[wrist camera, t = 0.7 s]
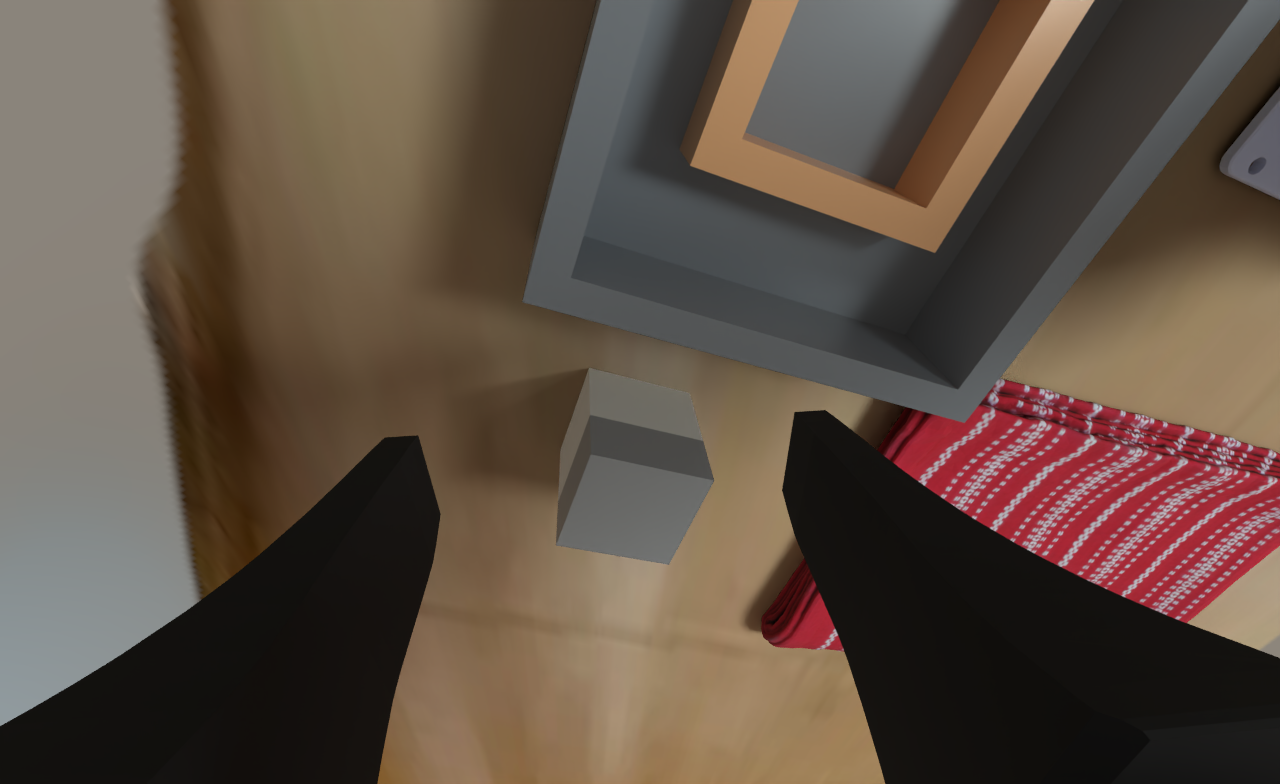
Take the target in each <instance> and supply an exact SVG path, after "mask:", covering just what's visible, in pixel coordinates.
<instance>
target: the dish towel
mask: <svg viewBox="0 0 1280 784" xmlns="http://www.w3.org/2000/svg"><path fill="white" fill-rule="evenodd" d="M877 451H879V452H880V453H881V454H882V455H884V456H885V457H886V458H888V459H889V460H890V461H891V462H893V463H894V464H895V465H897V466H898V467H899V468H901V469H902V470H903V471H905V472H906V473H907V474H909V475H910V476H912V477H913V478H914V479H916V480H917V481H919V482H920V483H921V484H923V485H924V486H925V487H927V488H928V489H930V490H931V491H933V492H934V493H936V494H937V495H939V496H940V497H942V498H943V499H945V500H946V501H947V502H949V503H950V504H952V505H953V506H955V507H956V508H958V509H959V510H961V511H962V512H964V513H966V514H967V515H969V516H970V517H972V518H974V519H975V520H977V521H978V522H980V523H982V524H983V525H985V526H987V527H989V528H990V529H992V530H994V531H995V532H997V533H999V534H1001V535H1002V536H1004V537H1006V538H1007V539H1009V540H1011V541H1013V542H1014V543H1016V544H1018V545H1020V546H1021V547H1023V548H1025V549H1027V550H1029V551H1031V552H1033V553H1034V554H1036V555H1038V556H1040V557H1042V558H1044V559H1046V560H1048V561H1050V562H1052V563H1054V564H1056V565H1058V566H1060V567H1062V568H1064V569H1066V570H1068V571H1070V572H1072V573H1074V574H1076V575H1078V576H1080V577H1082V578H1084V579H1086V580H1088V581H1090V582H1092V583H1095V584H1097V585H1099V586H1101V587H1103V588H1105V589H1108V590H1110V591H1112V592H1114V593H1116V594H1118V595H1121V596H1123V597H1125V598H1128V599H1130V600H1132V601H1135V602H1137V603H1139V604H1142V605H1144V606H1146V607H1149V608H1151V609H1153V610H1156V611H1158V612H1160V613H1163V614H1165V615H1167V616H1170V617H1172V618H1175V619H1177V620H1180V621H1182V622H1185V623H1187V622H1188V621H1189V620H1191V619H1192V618H1193V617H1195V616H1196V615H1197V614H1198V613H1199V612H1200V611H1202V610H1203V609H1204V608H1205V607H1207V606H1208V605H1209V604H1210V603H1211V602H1212V601H1213V600H1214V599H1216V598H1217V597H1218V596H1219V595H1220V594H1221V593H1223V592H1224V591H1225V590H1226V589H1227V588H1228V587H1229V586H1231V585H1232V584H1233V583H1234V582H1235V581H1237V580H1238V579H1239V578H1240V577H1242V576H1243V575H1244V574H1245V573H1247V572H1248V571H1249V570H1250V569H1252V568H1253V567H1254V566H1255V565H1256V564H1258V563H1259V562H1260V561H1261V560H1262V559H1264V558H1265V557H1266V556H1267V555H1268V554H1270V553H1271V552H1272V551H1274V550H1275V549H1276V548H1278V547H1279V546H1280V454H1279V453H1277V452H1275V451H1273V450H1271V449H1267V448H1259V447H1256V446H1253V445H1250V444H1247V443H1243V442H1240V441H1238V440H1235V439H1234V438H1232V437H1226V436H1220V435H1216V434H1213V433H1210V432H1204V431H1201V430H1198V429H1194V428H1191V427H1188V426H1185V425H1182V426H1180V425H1174V424H1170V423H1167V422H1165V421H1160V420H1155V419H1153V418H1151V417H1147V416H1144V415H1142V414H1134V413H1129V412H1125V411H1122V410H1118V409H1114V408H1110V407H1106V406H1102V405H1100V404H1097V403H1094V402H1085V401H1082V400H1078V399H1075V398H1072V397H1070V396H1066V395H1061V394H1059V393H1056V392H1053V391H1051V390H1047V389H1041V388H1035V387H1030V386H1028V385H1025V384H1019V383H1015V382H1012V381H1008V380H1004V379H1001V378H999V380H998V381H997V382H996V383H995V385H994V386H993V387H992V389H991V390H990V391H989V392H988V394H987V395H986V396H985V398H984V399H983V400H982V401H981V403H980V404H979V405H978V407H977V408H976V409H975V410H974V412H973V413H972V414H971V416H970V417H969V418H968V419H967V421H966V422H965V423H963V422H959V421H956V420H952V419H948V418H945V417H941V416H937V415H934V414H930V413H927V412H923V411H919V410H916V409H912V408H908V407H906V408H905V410H904V411H903V412H902V414H901V416H900V417H899V419H898V420H897V422H896V423H895V424H894V426H893V427H892V429H891V430H890V432H889V433H888V435H887V436H886V438H885V439H884V441H883V442H882V444H881V445H880V447H879V448H878V450H877ZM761 629H762V634H763V637H764V638H765V639H766V640H768V641H769V643H770V644H772V645H773V646H775V647H783V648H808V649H816V650H819V649H830V650H837V651H844V649H843V647H842V644H841V641H840V639H839V636H838V634H837V632H836V630H835V627H834V625H833V623H832V620H831V618H830V616H829V613H828V611H827V609H826V607H825V604H824V602H823V600H822V597H821V595H820V593H819V591H818V588H817V586H816V584H815V581H814V579H813V577H812V574H811V572H810V570H809V568H808V565H807V563H806V561H805V558H804V559H803V561H802V562H801V564H800V565H799V567H798V568H797V569H796V571H795V572H794V573H793V574H792V577H791V578H790V580H789V581H788V583H787V584H786V585H785V587H784V588H783V590H782V591H781V593H780V594H779V595H778V597H777V598H776V600H775V601H774V603H773V604H772V605H771V606H770V608H769V609H768V610H767V612H766V613H765V614H764V615H763V617H762V624H761Z"/></svg>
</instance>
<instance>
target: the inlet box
mask: <svg viewBox="0 0 1280 784" xmlns="http://www.w3.org/2000/svg"><path fill="white" fill-rule="evenodd" d="M1279 20H1280V0H597V1H596V5H595V9H594V12H593V16H592V20H591V24H590V28H589V32H588V36H587V40H586V43H585V47H584V51H583V55H582V59H581V63H580V67H579V71H578V75H577V78H576V82H575V86H574V90H573V94H572V98H571V102H570V106H569V109H568V113H567V117H566V121H565V125H564V129H563V133H562V137H561V140H560V144H559V148H558V152H557V156H556V160H555V164H554V168H553V172H552V175H551V179H550V183H549V187H548V191H547V195H546V199H545V203H544V206H543V210H542V214H541V218H540V222H539V226H538V230H537V234H536V238H535V241H534V246H533V251H532V256H531V261H530V266H529V271H528V276H527V281H526V286H525V291H524V296H523V301H522V302H524V303H527V304H531V305H535V306H538V307H542V308H546V309H549V310H553V311H557V312H560V313H564V314H568V315H571V316H575V317H579V318H582V319H586V320H590V321H593V322H597V323H601V324H604V325H608V326H612V327H615V328H619V329H623V330H626V331H630V332H634V333H637V334H641V335H645V336H648V337H652V338H656V339H659V340H663V341H667V342H670V343H674V344H677V345H681V346H685V347H688V348H692V349H696V350H699V351H703V352H707V353H710V354H714V355H718V356H721V357H725V358H729V359H732V360H736V361H740V362H743V363H747V364H751V365H754V366H758V367H762V368H765V369H769V370H773V371H776V372H780V373H784V374H787V375H791V376H795V377H798V378H802V379H806V380H809V381H813V382H817V383H820V384H824V385H828V386H831V387H835V388H839V389H842V390H846V391H850V392H853V393H857V394H861V395H864V396H868V397H872V398H875V399H879V400H883V401H886V402H890V403H894V404H897V405H901V406H905V407H908V408H912V409H916V410H919V411H923V412H927V413H930V414H934V415H937V416H941V417H945V418H948V419H952V420H956V421H959V422H963V423H965V422H966V421H967V419H968V418H969V417H970V416H971V414H972V413H973V412H974V410H975V409H976V408H977V407H978V405H979V404H980V403H981V401H982V400H983V399H984V398H985V396H986V395H987V394H988V392H989V391H990V390H991V389H992V387H993V386H994V385H995V383H996V382H997V381H998V380H999V378H1000V377H1001V376H1002V375H1003V373H1004V372H1005V371H1006V369H1007V368H1008V367H1009V366H1010V364H1011V363H1012V362H1013V360H1014V359H1015V358H1016V357H1017V355H1018V354H1019V353H1020V351H1021V350H1022V349H1023V348H1024V346H1025V345H1026V344H1027V342H1028V341H1029V340H1030V339H1031V337H1032V336H1033V335H1034V334H1035V332H1036V331H1037V330H1038V328H1039V327H1040V326H1041V325H1042V323H1043V322H1044V321H1045V319H1046V318H1047V317H1048V316H1049V314H1050V313H1051V312H1052V310H1053V309H1054V308H1055V307H1056V305H1057V304H1058V303H1059V301H1060V300H1061V299H1062V298H1063V296H1064V295H1065V294H1066V292H1067V291H1068V290H1069V289H1070V287H1071V286H1072V285H1073V284H1074V282H1075V281H1076V280H1077V278H1078V277H1079V276H1080V275H1081V273H1082V272H1083V271H1084V269H1085V268H1086V267H1087V266H1088V264H1089V263H1090V262H1091V260H1092V259H1093V258H1094V257H1095V255H1096V254H1097V253H1098V251H1099V250H1100V249H1101V248H1102V246H1103V245H1104V244H1105V243H1106V241H1107V240H1108V239H1109V237H1110V236H1111V235H1112V234H1113V232H1114V231H1115V230H1116V228H1117V227H1118V226H1119V225H1120V223H1121V222H1122V221H1123V219H1124V218H1125V217H1126V216H1127V214H1128V213H1129V212H1130V210H1131V209H1132V208H1133V207H1134V205H1135V204H1136V203H1137V202H1138V200H1139V199H1140V198H1141V196H1142V195H1143V194H1144V193H1145V191H1146V190H1147V189H1148V187H1149V186H1150V185H1151V184H1152V182H1153V181H1154V180H1155V178H1156V177H1157V176H1158V175H1159V173H1160V172H1161V171H1162V169H1163V168H1164V167H1165V166H1166V164H1167V163H1168V162H1169V161H1170V159H1171V158H1172V157H1173V155H1174V154H1175V153H1176V152H1177V150H1178V149H1179V148H1180V146H1181V145H1182V144H1183V143H1184V141H1185V140H1186V139H1187V137H1188V136H1189V135H1190V134H1191V132H1192V131H1193V130H1194V128H1195V127H1196V126H1197V125H1198V123H1199V122H1200V121H1201V120H1202V118H1203V117H1204V116H1205V114H1206V113H1207V112H1208V111H1209V109H1210V108H1211V107H1212V105H1213V104H1214V103H1215V102H1216V100H1217V99H1218V98H1219V96H1220V95H1221V94H1222V93H1223V91H1224V90H1225V89H1226V87H1227V86H1228V85H1229V84H1230V82H1231V81H1232V80H1233V78H1234V77H1235V76H1236V75H1237V73H1238V72H1239V71H1240V70H1241V68H1242V67H1243V66H1244V64H1245V63H1246V62H1247V61H1248V59H1249V58H1250V57H1251V55H1252V54H1253V53H1254V52H1255V50H1256V49H1257V48H1258V46H1259V45H1260V44H1261V43H1262V41H1263V40H1264V39H1265V37H1266V36H1267V35H1268V34H1269V32H1270V31H1271V30H1272V29H1273V27H1274V26H1275V25H1276V23H1277V22H1278V21H1279Z"/></svg>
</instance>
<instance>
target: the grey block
mask: <svg viewBox="0 0 1280 784" xmlns="http://www.w3.org/2000/svg"><path fill="white" fill-rule="evenodd" d="M713 482H714V478H713V475H712V471H711V468H710V464H709V460H708V457H707V453H706V450H705V446H704V442H703V439H702V435H701V432H700V428H699V424H698V421H697V417H696V414H695V410H694V406H693V403H692V399H691V396H690V393H688V392H684V391H680V390H676V389H672V388H668V387H664V386H660V385H656V384H652V383H648V382H644V381H640V380H636V379H632V378H628V377H624V376H620V375H616V374H612V373H609V372H605V371H601V370H597V369H593V368H589V369H588V372H587V375H586V378H585V381H584V384H583V387H582V389H581V392H580V395H579V398H578V401H577V404H576V407H575V410H574V412H573V415H572V418H571V421H570V424H569V427H568V430H567V433H566V435H565V438H564V441H563V444H562V447H561V450H560V471H559V492H558V514H557V536H556V545H557V546H563V547H569V548H575V549H581V550H587V551H592V552H598V553H604V554H610V555H616V556H622V557H627V558H633V559H639V560H645V561H651V562H657V563H662V564H668V565H669V563H670V561H671V560H672V558H673V556H674V554H675V552H676V550H677V549H678V547H679V545H680V543H681V541H682V539H683V537H684V536H685V534H686V532H687V530H688V528H689V526H690V524H691V523H692V521H693V519H694V517H695V515H696V513H697V511H698V510H699V508H700V506H701V504H702V502H703V500H704V498H705V497H706V495H707V493H708V491H709V489H710V487H711V485H712V484H713Z"/></svg>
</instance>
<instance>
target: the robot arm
mask: <svg viewBox="0 0 1280 784" xmlns="http://www.w3.org/2000/svg"><path fill="white" fill-rule="evenodd" d="M1253 161H1254V162H1253ZM1252 162H1253V164H1252V165H1251V163H1252ZM1250 165H1251V166H1250ZM1249 166H1250V167H1249ZM1219 167H1220V171H1221V172H1222V173H1223V174H1225V175H1227V176H1229V177H1231V178H1233V179H1236V180H1238V181H1240V182H1242V183H1244V184H1246V185H1248V186H1251V187H1253V188H1255V189H1257V190H1259V191H1261V192H1263V193H1266V194H1268V195H1270V196H1272V197H1274V198H1276V199H1278V200H1280V87H1279V88H1278V89H1277V91H1276V92H1275V93H1274V94H1273V96H1272V97H1271V98H1270V99H1269V100H1268V102H1267V103H1266V104H1265V105H1264V106H1263V108H1262V109H1261V110H1260V111H1259V113H1258V114H1257V115H1256V116H1255V117H1254V119H1253V120H1252V121H1251V122H1250V124H1249V125H1248V126H1247V127H1246V128H1245V130H1244V131H1243V132H1242V133H1241V134H1240V136H1239V137H1238V138H1237V139H1236V141H1235V142H1234V143H1233V144H1232V145H1231V147H1230V148H1229V149H1228V150H1227V151H1226V153H1225V154H1224V156H1223V157H1222V159H1221V162H1220V165H1219ZM782 491H783V495H784V499H785V502H786V506H787V510H788V514H789V517H790V520H791V524H792V527H793V531H794V534H795V537H796V539H797V542H798V544H799V546H800V549H801V551H802V553H803V556H804V558H805V561H806V563H807V565H808V568H809V570H810V572H811V574H812V577H813V579H814V581H815V584H816V586H817V588H818V591H819V593H820V595H821V597H822V600H823V602H824V604H825V607H826V609H827V611H828V613H829V616H830V618H831V620H832V623H833V625H834V627H835V630H836V632H837V634H838V636H839V639H840V641H841V644H842V647H843V649H844V652H845V654H846V657H847V660H848V662H849V666H850V669H851V672H852V675H853V678H854V681H855V684H856V687H857V690H858V694H859V697H860V700H861V703H862V706H863V709H864V712H865V716H866V719H867V722H868V726H869V729H870V732H871V736H872V739H873V742H874V746H875V749H876V752H877V756H878V759H879V763H880V766H881V769H882V773H883V777H884V780H885V784H1280V658H1278V657H1275V656H1273V655H1270V654H1267V653H1265V652H1262V651H1259V650H1257V649H1254V648H1251V647H1249V646H1246V645H1243V644H1241V643H1238V642H1235V641H1233V640H1230V639H1227V638H1225V637H1222V636H1219V635H1217V634H1214V633H1211V632H1209V631H1206V630H1203V629H1201V628H1198V627H1195V626H1193V625H1190V624H1187V623H1185V622H1182V621H1180V620H1177V619H1175V618H1172V617H1170V616H1167V615H1165V614H1163V613H1160V612H1158V611H1156V610H1153V609H1151V608H1149V607H1146V606H1144V605H1142V604H1139V603H1137V602H1135V601H1132V600H1130V599H1128V598H1125V597H1123V596H1121V595H1118V594H1116V593H1114V592H1112V591H1110V590H1108V589H1105V588H1103V587H1101V586H1099V585H1097V584H1095V583H1092V582H1090V581H1088V580H1086V579H1084V578H1082V577H1080V576H1078V575H1076V574H1074V573H1072V572H1070V571H1068V570H1066V569H1064V568H1062V567H1060V566H1058V565H1056V564H1054V563H1052V562H1050V561H1048V560H1046V559H1044V558H1042V557H1040V556H1038V555H1036V554H1034V553H1033V552H1031V551H1029V550H1027V549H1025V548H1023V547H1021V546H1020V545H1018V544H1016V543H1014V542H1013V541H1011V540H1009V539H1007V538H1006V537H1004V536H1002V535H1001V534H999V533H997V532H995V531H994V530H992V529H990V528H989V527H987V526H985V525H983V524H982V523H980V522H978V521H977V520H975V519H974V518H972V517H970V516H969V515H967V514H966V513H964V512H962V511H961V510H959V509H958V508H956V507H955V506H953V505H952V504H950V503H949V502H947V501H946V500H945V499H943V498H942V497H940V496H939V495H937V494H936V493H934V492H933V491H931V490H930V489H928V488H927V487H925V486H924V485H923V484H921V483H920V482H919V481H917V480H916V479H914V478H913V477H912V476H910V475H909V474H907V473H906V472H905V471H903V470H902V469H901V468H899V467H898V466H897V465H895V464H894V463H893V462H891V461H890V460H889V459H888V458H886V457H885V456H884V455H882V454H881V453H880V452H879V451H877V450H876V449H875V448H873V447H872V446H871V445H870V444H868V443H867V442H866V441H865V440H863V439H862V438H861V437H859V436H858V435H857V434H856V433H854V432H853V431H852V430H851V429H849V428H848V427H847V426H846V425H844V424H843V423H842V422H840V421H839V420H838V419H837V418H835V417H834V416H833V415H831V414H830V413H828V412H827V411H826V410H821V411H805V412H795V413H794V420H793V426H792V432H791V438H790V445H789V451H788V457H787V463H786V470H785V476H784V482H783V489H782ZM439 521H440V511H439V507H438V504H437V500H436V497H435V493H434V490H433V486H432V483H431V479H430V476H429V472H428V469H427V465H426V462H425V458H424V455H423V451H422V447H421V444H420V440H419V437H418V436H403V437H387V438H384V439H383V440H382V441H381V442H380V443H379V444H378V445H377V446H375V447H374V448H373V449H372V450H371V451H370V452H369V453H368V454H367V455H366V456H365V457H364V458H363V459H362V460H361V461H360V462H359V463H358V464H357V465H356V466H355V467H354V468H353V469H352V470H351V471H350V472H349V473H348V474H347V475H346V476H345V477H344V478H343V479H342V480H341V481H340V482H339V483H338V484H337V485H336V486H335V487H334V488H333V489H332V490H330V491H329V492H328V493H327V494H326V495H325V496H324V497H323V498H322V499H321V500H320V501H319V502H318V503H317V504H316V505H315V506H314V507H313V508H312V509H311V510H310V511H309V512H307V513H306V514H305V515H304V516H303V517H302V518H301V519H300V520H298V521H297V522H296V523H295V524H294V525H293V526H292V527H291V528H289V529H288V530H287V531H286V532H285V533H284V534H283V535H281V536H280V537H279V538H278V539H277V540H276V541H275V542H273V543H272V544H271V545H270V546H269V547H268V548H267V549H266V550H264V551H263V552H262V553H261V554H260V555H259V556H257V557H256V558H255V559H254V560H253V561H251V562H250V563H249V564H248V565H246V566H245V567H244V568H243V569H241V570H240V571H239V572H238V573H236V574H235V575H234V576H233V577H231V578H230V579H229V580H227V581H226V582H225V583H223V584H222V585H221V586H219V587H218V588H217V589H215V590H214V591H213V592H211V593H210V594H209V595H207V596H206V597H205V598H203V599H202V600H201V601H199V602H198V603H197V604H195V605H194V606H193V607H191V608H190V609H188V610H187V611H186V612H184V613H183V614H181V615H180V616H178V617H177V618H175V619H174V620H172V621H171V622H169V623H168V624H166V625H165V626H163V627H162V628H160V629H159V630H157V631H156V632H154V633H153V634H151V635H150V636H148V637H147V638H145V639H144V640H142V641H141V642H140V643H138V644H136V645H135V646H133V647H132V648H131V649H129V650H128V651H126V652H125V653H123V654H122V655H120V656H118V657H117V658H115V659H114V660H112V661H111V662H109V663H107V664H106V665H104V666H102V667H101V668H99V669H98V670H96V671H94V672H93V673H91V674H89V675H88V676H86V677H84V678H83V679H81V680H80V681H78V682H76V683H75V684H73V685H71V686H70V687H68V688H66V689H64V690H63V691H61V692H59V693H58V694H56V695H54V696H52V697H51V698H49V699H48V700H46V701H44V702H43V703H41V704H39V705H37V706H36V707H34V708H32V709H30V710H28V711H27V712H25V713H23V714H21V715H19V716H18V717H16V718H14V719H12V720H11V721H9V722H7V723H5V724H4V725H2V726H0V784H377V782H378V776H379V771H380V765H381V759H382V754H383V749H384V743H385V738H386V733H387V728H388V723H389V718H390V713H391V707H392V702H393V698H394V694H395V690H396V686H397V683H398V679H399V675H400V671H401V668H402V665H403V661H404V658H405V655H406V652H407V648H408V645H409V642H410V638H411V635H412V632H413V628H414V625H415V622H416V618H417V615H418V612H419V609H420V605H421V602H422V598H423V595H424V592H425V588H426V585H427V581H428V578H429V575H430V571H431V568H432V564H433V559H434V553H435V547H436V542H437V535H438V528H439Z"/></svg>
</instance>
